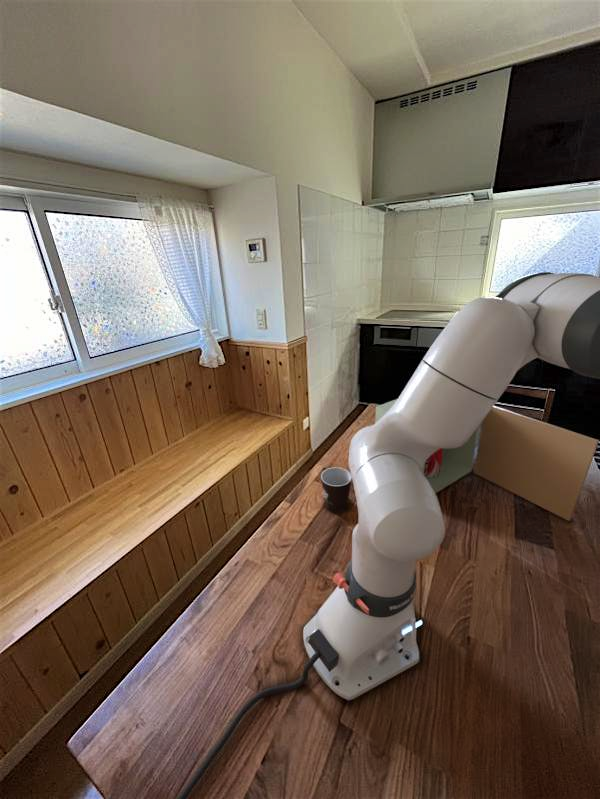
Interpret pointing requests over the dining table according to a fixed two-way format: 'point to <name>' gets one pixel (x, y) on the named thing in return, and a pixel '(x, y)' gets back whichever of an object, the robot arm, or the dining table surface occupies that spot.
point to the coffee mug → (336, 488)
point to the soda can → (433, 464)
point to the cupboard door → (534, 459)
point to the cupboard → (446, 457)
